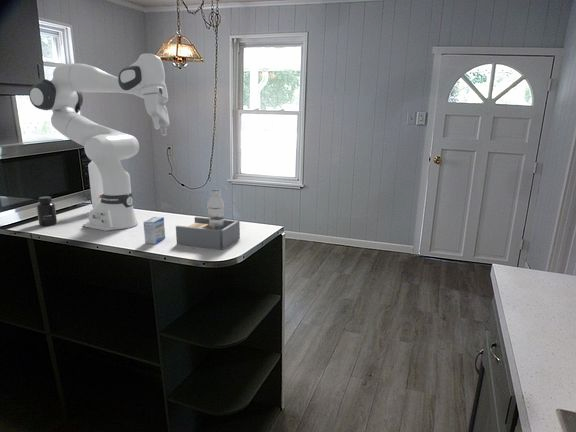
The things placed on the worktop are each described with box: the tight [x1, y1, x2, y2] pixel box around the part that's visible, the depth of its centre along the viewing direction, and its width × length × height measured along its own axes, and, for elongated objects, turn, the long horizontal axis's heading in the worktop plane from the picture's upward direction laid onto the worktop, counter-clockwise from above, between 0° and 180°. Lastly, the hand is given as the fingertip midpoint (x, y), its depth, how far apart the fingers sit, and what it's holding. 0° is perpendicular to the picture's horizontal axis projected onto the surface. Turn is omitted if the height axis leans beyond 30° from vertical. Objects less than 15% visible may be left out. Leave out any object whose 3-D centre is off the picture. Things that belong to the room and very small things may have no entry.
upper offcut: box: [187, 222, 209, 229], centre depth 158 cm, size 6×9×3 cm, turn 161°
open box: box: [175, 216, 241, 250], centre depth 156 cm, size 19×15×7 cm
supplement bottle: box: [36, 195, 58, 227], centre depth 175 cm, size 7×7×12 cm
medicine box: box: [143, 216, 166, 245], centre depth 156 cm, size 8×4×9 cm, turn 170°
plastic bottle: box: [206, 189, 225, 230], centre depth 154 cm, size 6×7×20 cm
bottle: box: [87, 160, 103, 209], centre depth 197 cm, size 8×8×28 cm
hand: (160, 131), depth 155 cm, fingers open, 8 cm apart
